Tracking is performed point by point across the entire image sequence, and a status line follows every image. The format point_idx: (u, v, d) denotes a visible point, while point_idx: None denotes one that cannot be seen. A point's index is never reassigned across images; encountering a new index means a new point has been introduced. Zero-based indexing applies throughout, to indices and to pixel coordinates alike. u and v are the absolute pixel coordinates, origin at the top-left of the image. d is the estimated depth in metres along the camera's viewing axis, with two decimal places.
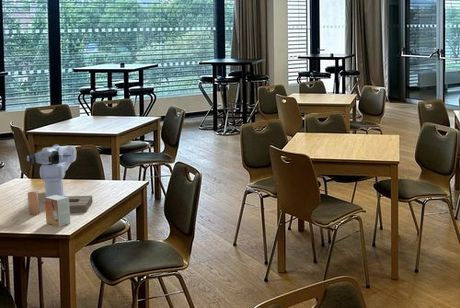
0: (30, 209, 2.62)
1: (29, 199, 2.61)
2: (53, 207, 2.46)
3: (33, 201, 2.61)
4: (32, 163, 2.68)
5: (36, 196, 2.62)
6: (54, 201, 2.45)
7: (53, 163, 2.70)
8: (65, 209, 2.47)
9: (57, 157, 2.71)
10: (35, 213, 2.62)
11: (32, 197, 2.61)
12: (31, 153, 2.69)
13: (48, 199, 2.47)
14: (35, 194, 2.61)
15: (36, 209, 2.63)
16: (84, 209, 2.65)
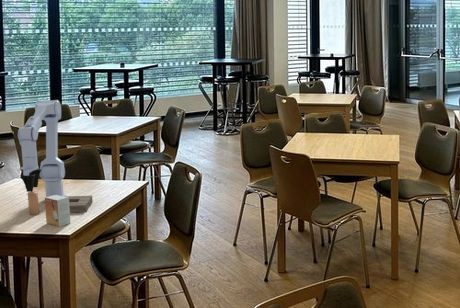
0: (30, 209, 2.62)
1: (29, 199, 2.61)
2: (53, 207, 2.46)
3: (33, 201, 2.61)
4: (38, 178, 2.66)
5: (36, 196, 2.62)
6: (54, 201, 2.45)
7: (34, 177, 2.57)
8: (65, 209, 2.47)
9: (27, 176, 2.56)
10: (35, 213, 2.62)
11: (32, 197, 2.61)
12: None
13: (48, 199, 2.47)
14: (35, 194, 2.61)
15: (36, 209, 2.63)
16: (84, 209, 2.65)
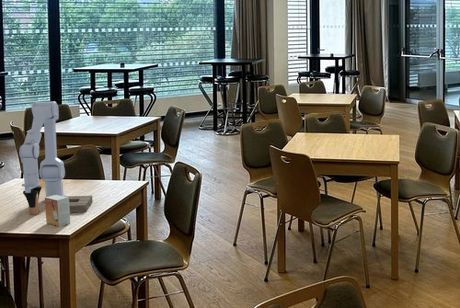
0: (30, 209, 2.62)
1: None
2: (53, 207, 2.46)
3: None
4: (38, 195, 2.65)
5: (36, 196, 2.62)
6: (54, 201, 2.45)
7: None
8: (65, 209, 2.47)
9: (29, 193, 2.58)
10: (35, 213, 2.62)
11: None
12: None
13: (48, 199, 2.47)
14: None
15: (36, 209, 2.63)
16: (84, 209, 2.65)
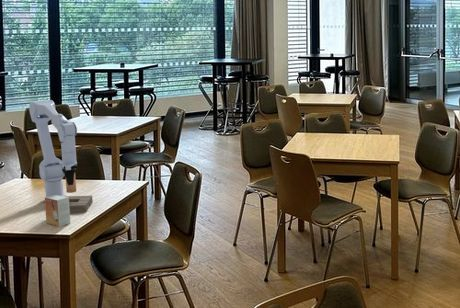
0: (68, 187, 2.69)
1: None
2: (53, 207, 2.46)
3: None
4: None
5: (74, 174, 2.69)
6: (54, 201, 2.45)
7: None
8: (65, 209, 2.47)
9: (69, 170, 2.65)
10: (73, 190, 2.70)
11: None
12: None
13: (48, 199, 2.47)
14: None
15: (74, 187, 2.70)
16: (84, 209, 2.65)
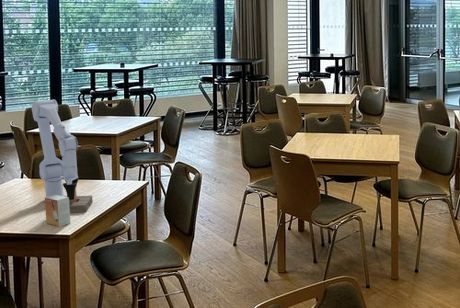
0: None
1: None
2: (53, 207, 2.46)
3: None
4: None
5: (75, 190, 2.71)
6: (54, 201, 2.45)
7: None
8: (65, 209, 2.47)
9: (69, 185, 2.65)
10: None
11: None
12: None
13: (48, 199, 2.47)
14: None
15: None
16: (84, 209, 2.65)
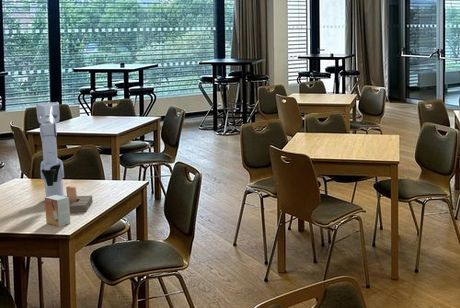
0: None
1: (68, 193, 2.70)
2: (53, 207, 2.46)
3: (73, 195, 2.70)
4: (58, 173, 2.74)
5: (75, 190, 2.71)
6: (54, 201, 2.45)
7: (54, 171, 2.66)
8: (65, 209, 2.47)
9: None
10: None
11: (72, 191, 2.69)
12: None
13: (48, 199, 2.47)
14: (74, 188, 2.70)
15: None
16: (84, 209, 2.65)
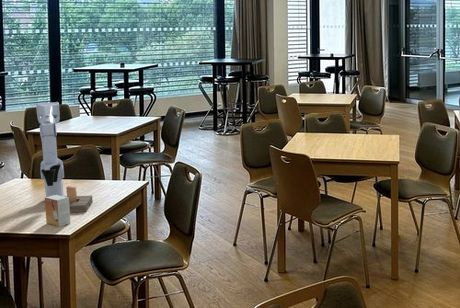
0: None
1: (68, 193, 2.70)
2: (53, 207, 2.46)
3: (73, 195, 2.70)
4: (57, 173, 2.74)
5: (75, 190, 2.71)
6: (54, 201, 2.45)
7: (54, 171, 2.66)
8: (65, 209, 2.47)
9: None
10: None
11: (72, 191, 2.69)
12: None
13: (48, 199, 2.47)
14: (74, 188, 2.70)
15: None
16: (84, 209, 2.65)
